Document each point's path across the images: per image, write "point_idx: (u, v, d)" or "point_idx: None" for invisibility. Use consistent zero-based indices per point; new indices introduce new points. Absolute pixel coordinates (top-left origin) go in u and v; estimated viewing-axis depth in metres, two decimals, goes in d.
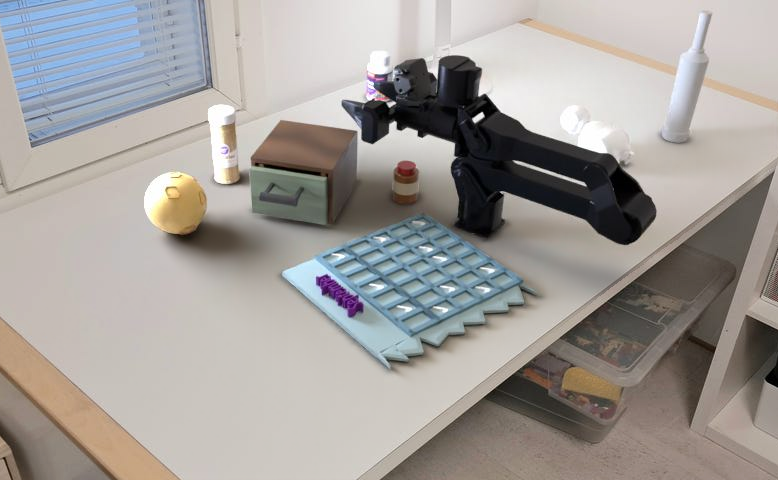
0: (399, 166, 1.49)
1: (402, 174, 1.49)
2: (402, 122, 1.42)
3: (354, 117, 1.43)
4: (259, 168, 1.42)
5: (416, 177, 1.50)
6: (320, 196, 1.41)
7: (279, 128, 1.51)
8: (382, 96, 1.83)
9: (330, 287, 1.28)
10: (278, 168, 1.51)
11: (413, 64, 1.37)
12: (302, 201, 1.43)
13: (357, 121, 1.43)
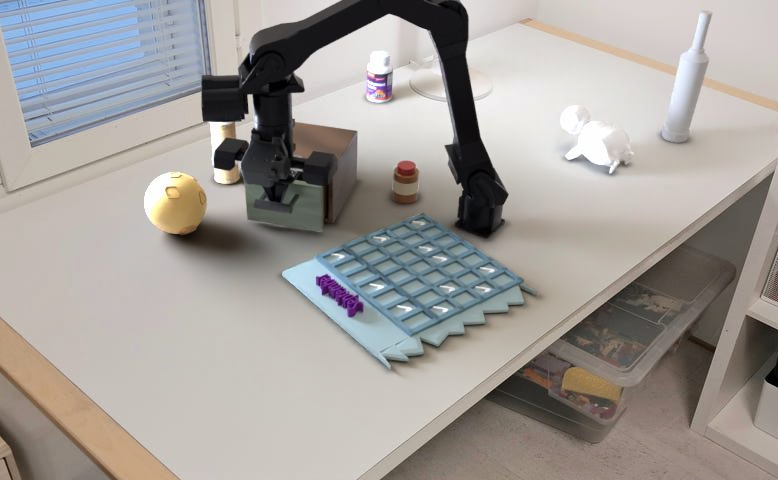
0: (399, 166, 1.49)
1: (402, 174, 1.49)
2: (293, 147, 1.33)
3: (287, 188, 1.38)
4: None
5: (416, 177, 1.50)
6: (316, 203, 1.39)
7: None
8: (382, 96, 1.83)
9: (330, 287, 1.28)
10: None
11: (260, 171, 1.26)
12: (297, 208, 1.41)
13: None
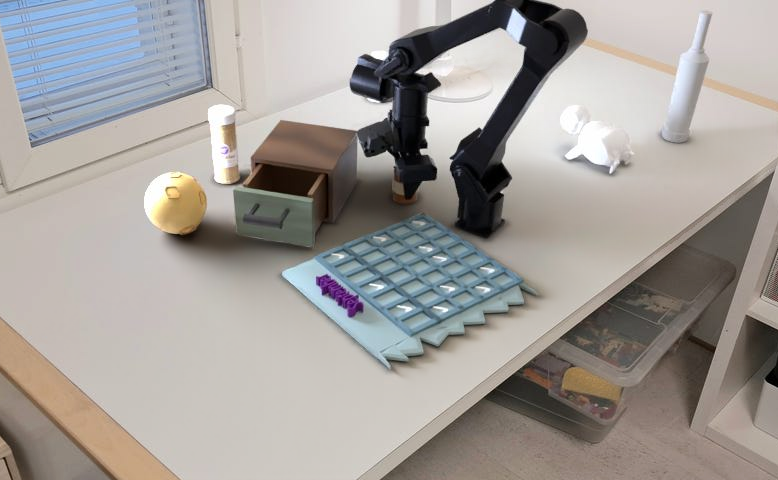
0: None
1: None
2: (418, 143, 1.45)
3: (417, 185, 1.48)
4: (243, 188, 1.37)
5: None
6: (307, 217, 1.36)
7: (279, 128, 1.51)
8: None
9: (330, 287, 1.28)
10: (264, 187, 1.46)
11: (360, 139, 1.44)
12: (288, 223, 1.37)
13: None
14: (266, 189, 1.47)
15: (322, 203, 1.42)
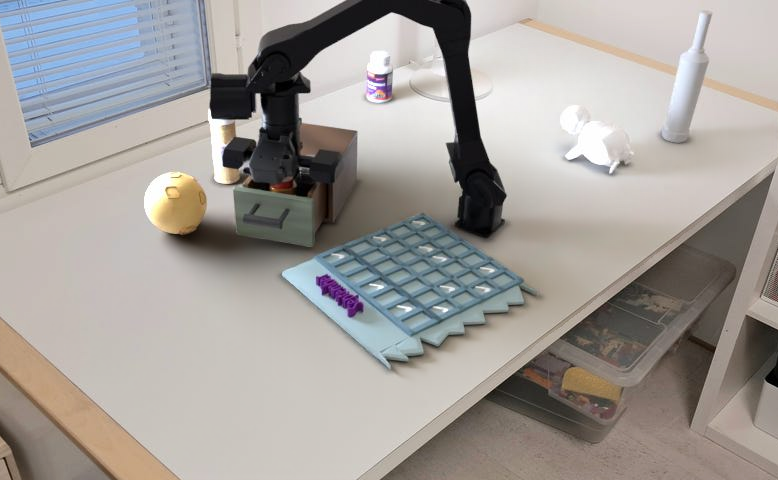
0: (282, 181, 1.38)
1: (289, 186, 1.38)
2: None
3: (307, 187, 1.40)
4: (243, 188, 1.37)
5: None
6: (307, 217, 1.36)
7: None
8: (382, 96, 1.83)
9: (330, 287, 1.28)
10: None
11: (268, 169, 1.29)
12: (288, 223, 1.37)
13: None
14: None
15: (322, 203, 1.42)
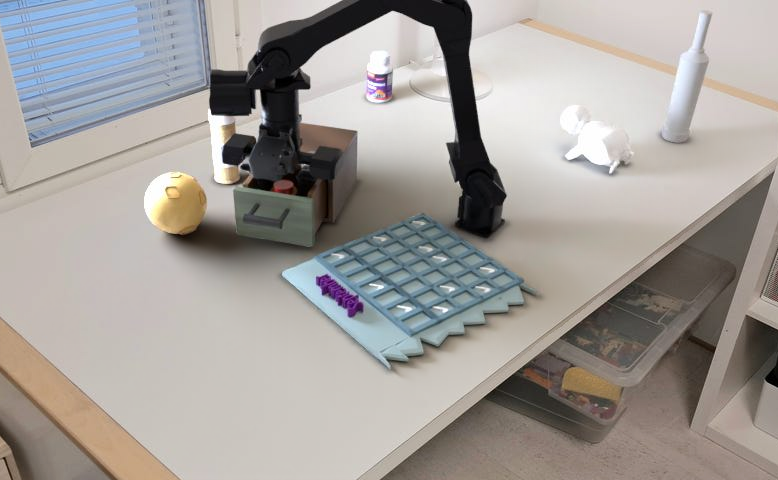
0: (282, 188, 1.38)
1: (289, 194, 1.39)
2: None
3: (309, 184, 1.40)
4: (243, 188, 1.37)
5: None
6: (307, 217, 1.36)
7: None
8: (382, 96, 1.83)
9: (330, 287, 1.28)
10: None
11: (268, 166, 1.28)
12: (288, 223, 1.37)
13: None
14: None
15: (322, 203, 1.42)
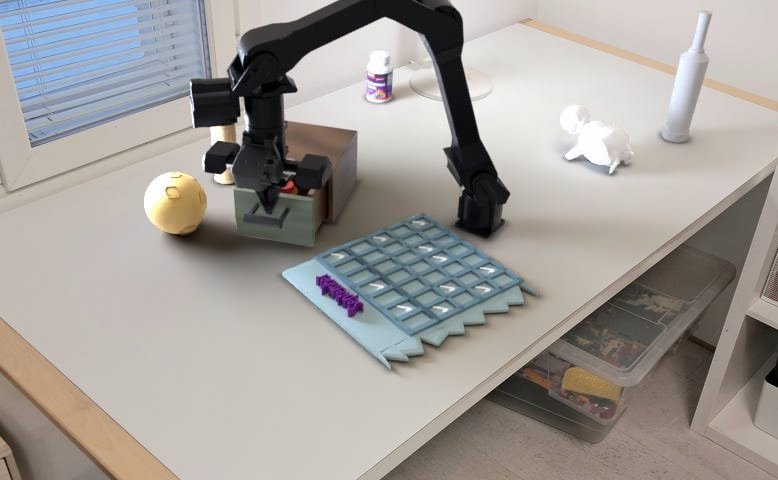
0: (283, 188, 1.39)
1: (289, 193, 1.39)
2: None
3: (280, 191, 1.34)
4: (243, 188, 1.37)
5: None
6: (307, 217, 1.36)
7: None
8: (382, 96, 1.83)
9: (330, 287, 1.28)
10: None
11: (251, 175, 1.22)
12: (288, 222, 1.37)
13: None
14: None
15: (322, 203, 1.42)
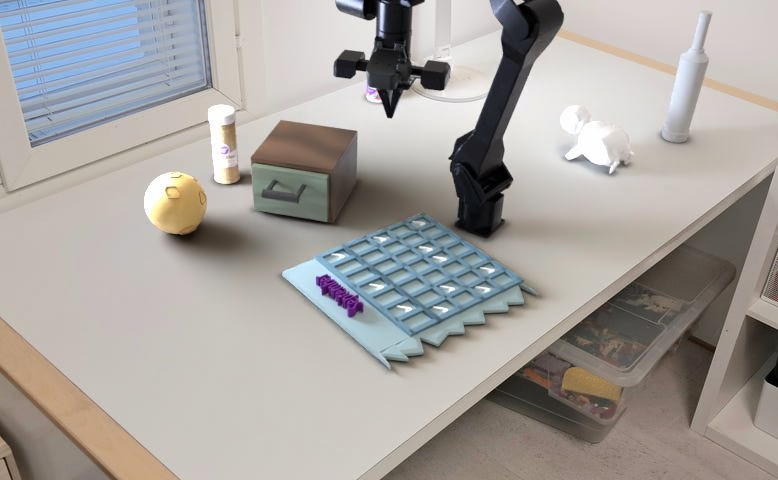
0: None
1: None
2: None
3: (400, 97, 1.48)
4: (261, 165, 1.43)
5: None
6: (322, 193, 1.42)
7: (279, 128, 1.51)
8: None
9: (330, 287, 1.28)
10: None
11: (385, 74, 1.36)
12: (304, 198, 1.43)
13: (402, 91, 1.47)
14: None
15: None
